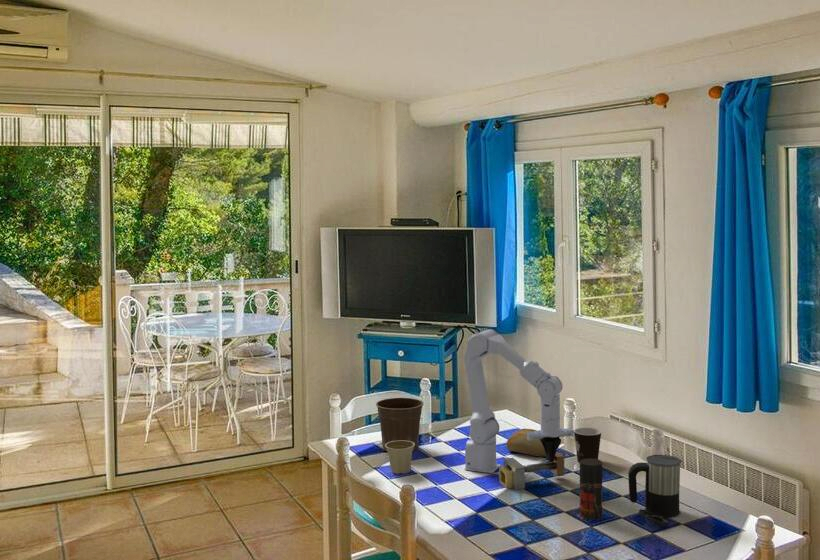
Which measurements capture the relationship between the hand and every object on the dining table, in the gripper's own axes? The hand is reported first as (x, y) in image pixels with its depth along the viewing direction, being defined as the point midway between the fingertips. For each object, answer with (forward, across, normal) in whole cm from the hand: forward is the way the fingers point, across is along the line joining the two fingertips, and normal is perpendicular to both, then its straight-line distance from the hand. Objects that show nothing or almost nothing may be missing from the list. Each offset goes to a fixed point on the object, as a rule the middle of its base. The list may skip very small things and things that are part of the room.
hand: (550, 461), depth 261 cm
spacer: (+6, -14, 0) cm, 16 cm away
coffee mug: (+6, +19, +13) cm, 24 cm away
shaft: (+4, -4, 0) cm, 6 cm away
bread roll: (+6, +4, +26) cm, 27 cm away
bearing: (+6, -12, 0) cm, 13 cm away
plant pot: (+6, -36, +45) cm, 58 cm away
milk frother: (+6, +16, -36) cm, 40 cm away
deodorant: (+6, -1, -30) cm, 30 cm away
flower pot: (+6, -42, +22) cm, 47 cm away
